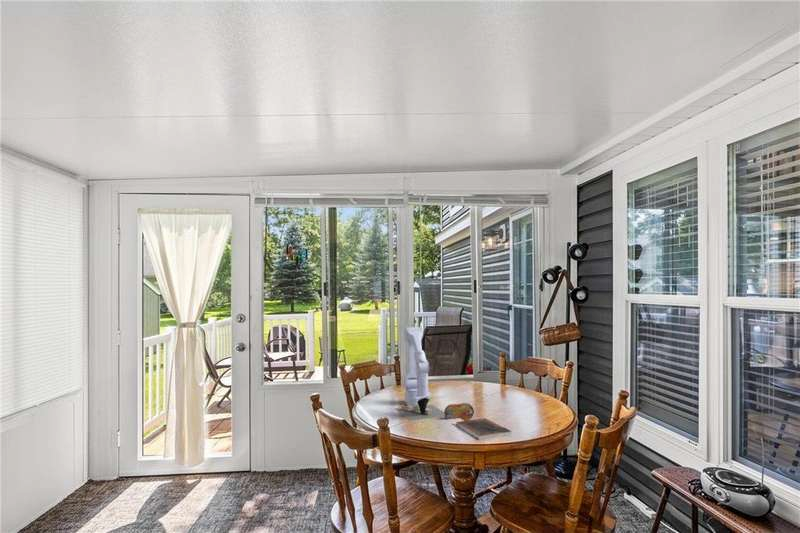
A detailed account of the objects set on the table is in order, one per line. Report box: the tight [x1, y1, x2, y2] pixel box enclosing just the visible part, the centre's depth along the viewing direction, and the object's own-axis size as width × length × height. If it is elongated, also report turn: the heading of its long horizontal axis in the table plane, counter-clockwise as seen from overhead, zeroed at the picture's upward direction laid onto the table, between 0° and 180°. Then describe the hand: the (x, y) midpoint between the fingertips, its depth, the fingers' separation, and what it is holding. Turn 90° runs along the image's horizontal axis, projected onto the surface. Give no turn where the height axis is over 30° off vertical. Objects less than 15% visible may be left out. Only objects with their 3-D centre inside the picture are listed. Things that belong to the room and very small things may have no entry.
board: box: [394, 404, 446, 421], centre depth 230 cm, size 22×22×2 cm
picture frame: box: [455, 417, 512, 441], centre depth 206 cm, size 16×2×22 cm
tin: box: [443, 402, 475, 421], centre depth 221 cm, size 15×3×8 cm, turn 105°
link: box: [401, 402, 431, 415], centre depth 231 cm, size 17×4×3 cm, turn 53°
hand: (422, 413), depth 225 cm, fingers closed
